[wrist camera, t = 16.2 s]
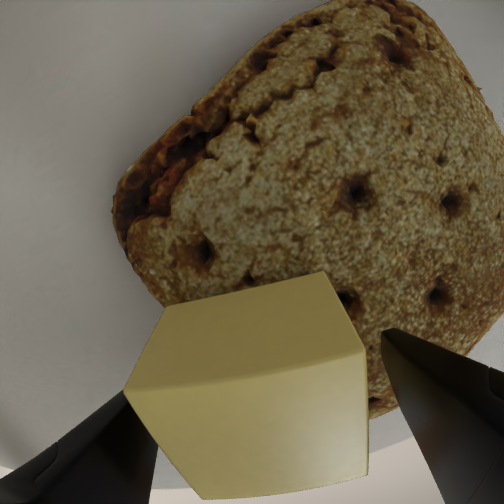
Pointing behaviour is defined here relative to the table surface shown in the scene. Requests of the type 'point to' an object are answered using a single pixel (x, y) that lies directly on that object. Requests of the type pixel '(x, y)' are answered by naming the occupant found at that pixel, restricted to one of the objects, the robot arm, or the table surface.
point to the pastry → (333, 181)
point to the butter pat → (257, 390)
